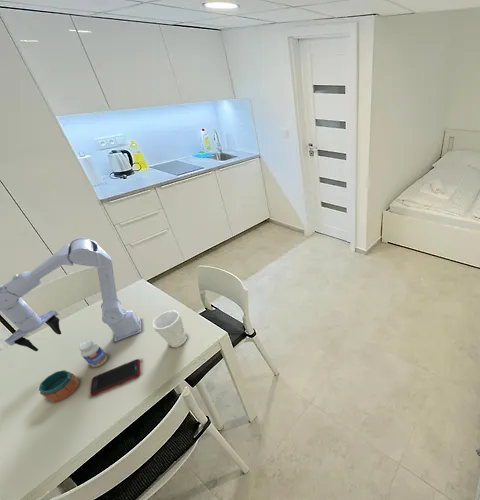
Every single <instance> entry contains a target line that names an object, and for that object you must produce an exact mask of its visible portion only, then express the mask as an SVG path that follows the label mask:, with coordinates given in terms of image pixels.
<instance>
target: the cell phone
mask: <svg viewBox="0 0 480 500" xmlns="http://www.w3.org/2000/svg"><path fill="white" fill-rule="evenodd" d="M140 374H141V360H140V359H139V358H136V359H134V360H132V361H129V362H127V363H124V364H121V365H119V366H117V367H114V368H112V369H109V370H107V371H105V372H102V373H99V374H97V375H95V376H93V377H92V379H91V384H90V385H91V386H90V395H91V396H95V395H97V394H99V393H101V392H104V391H106V390H109V389H111V388H113V387H115V386H118V385H120V384H122V383H123V384H124V383H125V382H128V381H129V380H132V379H134V378H136V377H138V376H140Z"/></svg>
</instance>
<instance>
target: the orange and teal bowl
mask: <svg viewBox="0 0 480 500" xmlns="http://www.w3.org/2000/svg"><path fill="white" fill-rule="evenodd" d="M79 385H80V381H79V379H78V378H77V377H76V375H75V374H74V373H72V372H71V371H67V370H65V369H64V370H63V369H62V370H58V371H55V372H53V373H52V374H50V375H48V376H47V377H46V378H44V379H43V381H41V382H40V383H39V387H38V391H39V394H40V395H41V396H42V397H43V398H46V400H48V401H49V402H52V403H55V402H59V401H62V400H64V399H66V398H68V397H69V396H70V395H72V394H73V393H74V392H75V391H76V390H77V388H78V386H79Z"/></svg>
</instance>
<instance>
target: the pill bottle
mask: <svg viewBox="0 0 480 500" xmlns="http://www.w3.org/2000/svg"><path fill="white" fill-rule="evenodd" d="M78 350H79V351H80V356H81V357H82V358H83V359H84V360H85V361H86V363H87V364H88V365H89V366H90V367H93V368H96V367H99V366H101V365H103V364H104V363H105V362H106V361H107V359H108V355H107V354H106V352H104V350H103V349H102V348H101V347H100V345H99V344H97V343H94V342H93V341H92V340H87V341H84V342H82V343H81V344H79V347H78Z"/></svg>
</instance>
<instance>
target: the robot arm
mask: <svg viewBox="0 0 480 500" xmlns="http://www.w3.org/2000/svg"><path fill="white" fill-rule="evenodd" d="M74 265H79V266H86V267H92V268H96V271H97V277H98V283H99V287H100V294H101V299H102V302H101V305H100V308H101V316H102V317H101V321H102V322H103V323H104V324H106V325H107V326H108V327H109V329H110V330H111V331H112V333H113V334H114V340H113V341H114V342H119V341H121V340H123V339H126V338H129V337H131V336H133V335H136V334H139V333H141V332H142V321H141V319H140V318H139V316H138V315H137V313H136V311H135V310H134V309H133V310H125V309H123V308H122V302H121V301H120V299H118V294H117V287H116V281H115V280H116V279H115V274H114V267H113V261H112V256H110V254H109V253H107V252H106V251H105V250H104V249H103V248H102V247H100V245H99V244H98V242H96V241H95V240H92V239H89V238H86V237H77V238H75V239H73V240H72V241H70V243H66V244H64V245H63V246H62V247H61V248H59V249H58V250H57V251H56V252H55V253H53V254H52V255H51V256H50V257H48V258H47V259H46V260H43V262H41V263H40V264H39V265H38V266H36V267H35V268H34V269H33V270H31V271H22V272H21V273H19V274H18V273H16V274H14V275H13V276H12V279H10V280H9V281H8V282H6V283H5V284H1V285H0V312H1V314H2V315H4V316H5V317H6V318H7V319H8V320H9V321H10V322H11V323H12V324H13V325H14V326H15V327H16V328H17V330H15V332H13V333H12V334H11V335H10V336H9V337H8V338H6V339H5V340H4V343H6V344H7V345H8V346H14V345H18V346H23V347H26V348H28V349H30V350H32V351H34V352H38V351H39V348H38V347H36V346H35V345H34V344H33V343H32V341H31V340H30V339H28V338H25V336H27V335H29V334H30V333H32V332H35V331H37V330H38V329H40V328H41V327H43V325H45V324H46V325H47V326H49V327H50V329H51V330H52V331H53V333H54V334H57V335H58V336H59V335H61V334H62V331H61V329H60V318H59V317H57V316H59V315H60V314H59V313H58V311H56V310H54V309H51V310H50V311H47V312H46V313H44V314H41V315H38V314H37V313H36V312H35V311H34V310H33V309H32V308H31V307H30V306H29V305H28V304H27V302H25V301H24V300H23V299H22V298H23V297H24V296H25V295H27V294H28V293H30V292H31V291H32V290H34V289H36V287H38V286H40V285H41V284H42V279H43V278H44V277H45V276H47V275H49V274H51V273H52V272H54V271H55V270H57V269H58V268H60V267H62V266H74Z"/></svg>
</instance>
